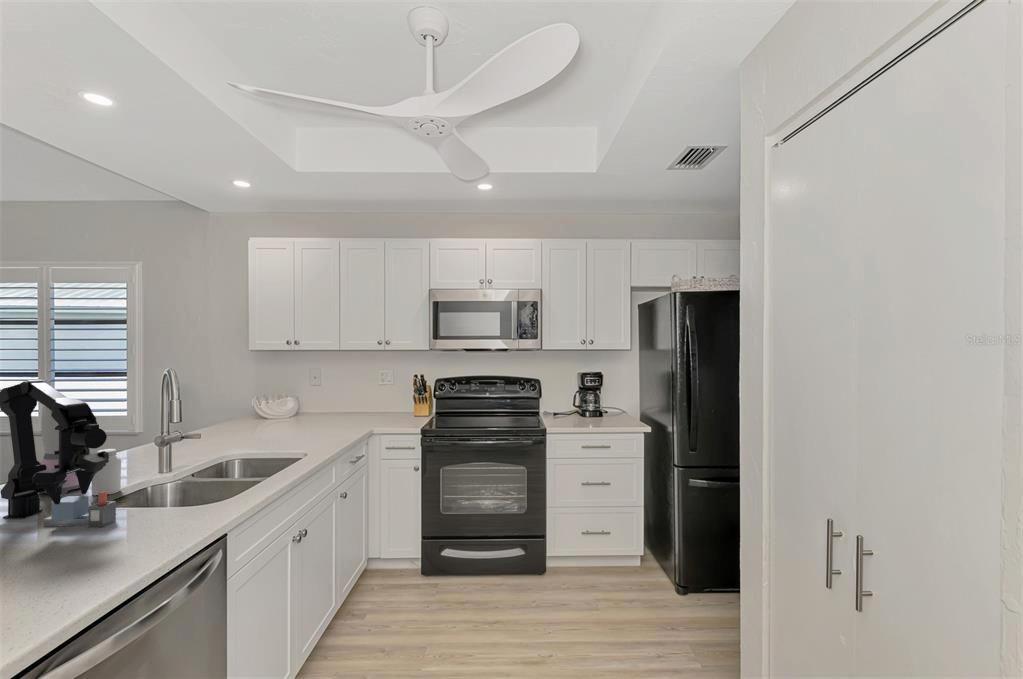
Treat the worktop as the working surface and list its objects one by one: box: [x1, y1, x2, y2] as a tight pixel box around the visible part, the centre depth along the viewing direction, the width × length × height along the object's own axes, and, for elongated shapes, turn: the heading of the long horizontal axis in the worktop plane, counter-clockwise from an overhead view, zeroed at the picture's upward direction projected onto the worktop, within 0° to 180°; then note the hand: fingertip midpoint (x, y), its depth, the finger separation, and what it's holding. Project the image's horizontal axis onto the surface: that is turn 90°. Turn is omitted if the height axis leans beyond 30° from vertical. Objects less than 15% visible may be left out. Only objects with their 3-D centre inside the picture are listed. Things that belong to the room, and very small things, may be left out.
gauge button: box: [97, 491, 108, 505], centre depth 144 cm, size 2×2×5 cm
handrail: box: [43, 515, 88, 527], centre depth 144 cm, size 13×2×2 cm, turn 93°
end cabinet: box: [87, 500, 117, 529], centre depth 144 cm, size 4×5×6 cm
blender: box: [39, 405, 86, 496], centre depth 174 cm, size 16×12×32 cm
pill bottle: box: [90, 448, 122, 496], centre depth 173 cm, size 8×8×15 cm
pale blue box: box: [50, 495, 90, 520], centre depth 144 cm, size 6×5×5 cm
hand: (71, 498), depth 144 cm, fingers open, 9 cm apart
